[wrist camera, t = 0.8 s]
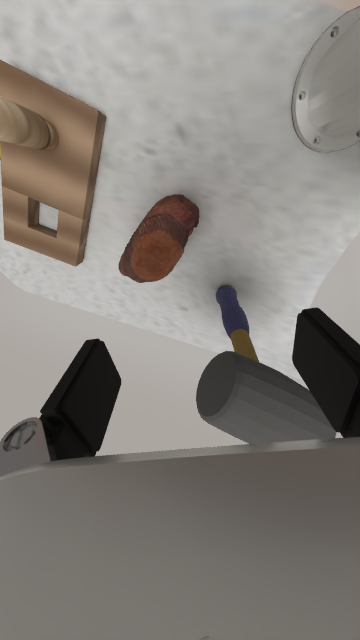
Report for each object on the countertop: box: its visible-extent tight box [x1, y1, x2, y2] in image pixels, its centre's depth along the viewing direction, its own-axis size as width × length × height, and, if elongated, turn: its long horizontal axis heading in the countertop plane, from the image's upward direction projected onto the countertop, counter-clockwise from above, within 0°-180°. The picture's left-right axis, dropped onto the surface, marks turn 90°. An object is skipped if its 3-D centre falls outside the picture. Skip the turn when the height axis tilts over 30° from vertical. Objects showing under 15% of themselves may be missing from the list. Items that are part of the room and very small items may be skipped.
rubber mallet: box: [196, 286, 336, 444], centre depth 30 cm, size 12×8×30 cm, turn 58°
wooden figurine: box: [119, 195, 199, 283], centre depth 29 cm, size 12×6×18 cm, turn 142°
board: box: [0, 60, 106, 266], centre depth 33 cm, size 22×12×3 cm, turn 158°
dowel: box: [0, 96, 59, 150], centre depth 24 cm, size 4×4×11 cm
